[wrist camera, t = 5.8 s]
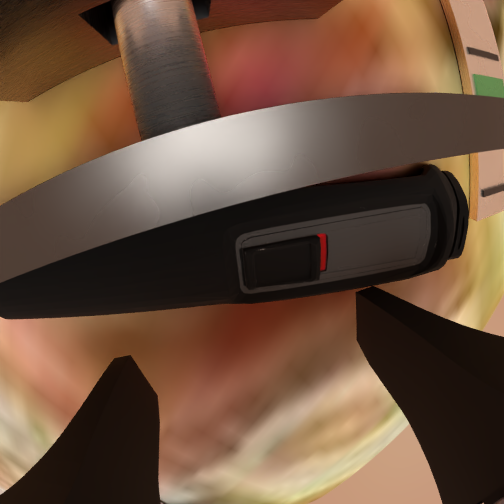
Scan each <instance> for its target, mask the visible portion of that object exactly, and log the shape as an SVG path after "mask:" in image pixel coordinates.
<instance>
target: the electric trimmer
mask: <svg viewBox="0 0 504 504" xmlns="http://www.w3.org/2000/svg"><path fill="white" fill-rule="evenodd" d="M468 219H469V209H468V204H467V199H466V196H465V194H464V192H463V190H462V188H461V186H460V184H459V182H458V180H457V179H456V178H455V177H454V175H453V174H452V173H450V172H448V171H440V170H439V169H438V168H437V167H436V166H435V165H432V164H429V165H425V166H423V167H422V174H421V175H418V176H412V177H403V178H394V179H385V180H377V181H365V182H354V183H344V184H334V185H322V186H310V187H301V188H297V189H293V190H289V191H285V192H281V193H277V194H273V195H269V196H265V197H261V198H258V199H254V200H250V201H246V202H242V203H239V204H235V205H231V206H228V207H224V208H221V209H217V210H213V211H210V212H206V213H203V214H200V215H196V216H193V217H189V218H186V219H182V220H179V221H176V222H172V223H169V224H166V225H163V226H159V227H156V228H153V229H150V230H147V231H143V232H140V233H137V234H134V235H131V236H128V237H125V238H122V239H119V240H116V241H113V242H110V243H107V244H104V245H101V246H98V247H95V248H92V249H89V250H86V251H83V252H80V253H78V254H75V255H72V256H69V257H66V258H64V259H61V260H58V261H55V262H53V263H50V264H47V265H45V266H42V267H39V268H37V269H34V270H31V271H29V272H26V273H24V274H21V275H19V276H16V277H13V278H11V279H8V280H6V281H4V282H1V283H0V317H2V318H4V319H38V318H61V317H79V316H95V315H109V314H122V313H135V312H146V311H157V310H167V309H177V308H187V307H196V306H205V305H216V304H252V303H262V302H271V301H280V300H288V299H295V298H302V297H308V296H315V295H321V294H327V293H333V292H339V291H345V290H351V289H357V288H362V287H368V286H373V285H379V284H384V283H389V282H395V281H400V280H405V279H409V278H413V277H416V276H419V275H422V274H426V273H429V272H432V271H436V270H439V269H440V268H442V267H443V266H444V265H445V263H446V262H447V260H449V259H455V258H459V257H460V256H461V254H462V252H463V249H464V245H465V240H466V235H467V229H468Z"/></svg>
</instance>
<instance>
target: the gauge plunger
mask: <svg viewBox="0 0 504 504" xmlns="http://www.w3.org/2000/svg"><path fill="white" fill-rule="evenodd" d="M111 4H112V11H113V17H114V22H115V28H116V33H117V38H118V43H119V48H120V53H121V58H122V63H123V67H124V72H125V76H126V81H127V85H128V89H129V93H130V98H131V102H132V106H133V110H134V113H135V117H136V121H137V125H138V129H139V132H140V136H141V140H142V141H141V142H138V143H136V144H133V145H130V146H127V147H124V148H122V149H119V150H116V151H114V152H111V153H109V154H106V155H104V156H101V157H99V158H96V159H94V160H91V161H89V162H87V163H84V164H82V165H80V166H77V167H75V168H73V169H71V170H69V171H66V172H64V173H62V174H60V175H58V176H56V177H54V178H52V179H49V180H47V181H45V182H43V183H41V184H39V185H37V186H36V187H34V188H32V189H30V190H28V191H26V192H24V193H22V194H20V195H19V196H17V197H15V198H13V199H11V200H10V201H8V202H6V203H4V204H3V205H1V206H0V283H1V282H4V281H6V280H8V279H11V278H13V277H16V276H19V275H21V274H24V273H26V272H29V271H31V270H34V269H37V268H39V267H42V266H45V265H47V264H50V263H53V262H55V261H58V260H61V259H64V258H66V257H69V256H72V255H75V254H78V253H80V252H83V251H86V250H89V249H92V248H95V247H98V246H101V245H104V244H107V243H110V242H113V241H116V240H119V239H122V238H125V237H128V236H131V235H134V234H137V233H140V232H143V231H147V230H150V229H153V228H156V227H159V226H163V225H166V224H169V223H172V222H176V221H179V220H182V219H186V218H189V217H193V216H196V215H200V214H203V213H206V212H210V211H213V210H217V209H221V208H224V207H228V206H231V205H235V204H239V203H242V202H246V201H250V200H254V199H258V198H261V197H265V196H269V195H273V194H277V193H281V192H285V191H289V190H293V189H297V188H301V187H305V186H309V185H314V184H318V183H322V182H327V181H331V180H335V179H340V178H344V177H349V176H353V175H358V174H363V173H367V172H372V171H377V170H382V169H387V168H392V167H397V166H402V165H407V164H413V163H418V162H423V161H429V160H435V159H441V158H446V157H452V156H459V155H465V154H471V153H478V152H485V151H492V150H499V149H504V98H500V97H492V96H482V95H469V94H452V93H389V94H371V95H357V96H346V97H337V98H328V99H320V100H312V101H305V102H298V103H292V104H286V105H280V106H275V107H269V108H264V109H259V110H254V111H249V112H245V113H240V114H236V115H231V116H227V117H223V118H221V116H220V112H219V108H218V104H217V100H216V96H215V92H214V88H213V84H212V80H211V76H210V72H209V68H208V64H207V60H206V56H205V52H204V48H203V44H202V40H201V36H200V32H199V28H198V24H197V20H196V16H195V12H194V8H193V4H192V0H111Z"/></svg>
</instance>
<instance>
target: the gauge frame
mask: <svg viewBox="0 0 504 504" xmlns="http://www.w3.org/2000/svg"><path fill="white" fill-rule="evenodd" d="M341 1H342V0H192V4H193V8H194V12H195V16H196V20H197V24H198V28H199V32H204V31H208V30H213V29H218V28H224V27H229V26H235V25H242V24H249V23H256V22H265V21H275V20H288V19H307V18H319V17H321V16H322V15H323V14H324V13H326V12H327V11H328V10H330V9H331V8H332V7H334V6H335V5H337V4H338V3H339V2H341ZM440 1H441V4H442V7H443V10H444V13H445V16H446V19H447V22H448V25H449V29H450V32H451V36H452V40H453V43H454V47H455V51H456V56H457V60H458V65H459V70H460V75H461V80H462V86H463V92H464V94H469V95H482V96H492V97H500V98H504V76H503V71H502V66H501V61H500V56H499V52H498V48H497V44H496V40H495V36H494V33H493V29H492V26H491V23H490V19H489V16H488V13H487V10H486V7H485V4H484V2H483V0H440ZM119 56H121V53H120V48H119V43H118V38H117V33H116V28H115V22H114V17H113V11H112V4H111V0H0V101H20V102H28V101H29V100H31V99H33V98H34V97H36V96H38V95H39V94H41V93H43V92H45V91H46V90H48V89H50V88H52V87H54V86H56V85H58V84H59V83H61V82H63V81H65V80H67V79H69V78H71V77H73V76H75V75H77V74H80V73H82V72H84V71H86V70H88V69H90V68H93V67H95V66H97V65H100V64H102V63H104V62H107V61H109V60H112V59H114V58H117V57H119ZM501 211H504V149H499V150H492V151H485V152H478V153H471V154H470V213H469V218H471V219H473V220H475V221H479V220H481V219H484V218H486V217H489V216H491V215H494V214H496V213H499V212H501Z"/></svg>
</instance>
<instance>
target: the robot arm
mask: <svg viewBox="0 0 504 504" xmlns="http://www.w3.org/2000/svg"><path fill="white" fill-rule="evenodd" d="M356 320H357V341H358V343H359V345H360V347H361V349H362V351H363V353H364V355H365V357H366V359H367V361H368V362H369V364H370V366H371V367H372V369H373V370H374V372H375V373H376V374H377V376H378V377H379V379H380V380H381V382H382V383H383V384H384V386H385V387H386V389H387V390H388V392H389V393H390V394H391V396H392V397H393V399H394V400H395V402H396V403H397V404H398V406H399V407H400V409H401V410H402V412H403V413H404V415H405V417H406V418H407V420H408V421H409V423H410V425H411V427H412V429H413V431H414V433H415V435H416V437H417V439H418V441H419V443H420V445H421V448H422V450H423V452H424V454H425V457H426V459H427V461H428V463H429V466H430V469H431V471H432V473H433V476H434V479H435V482H436V484H437V487H438V490H439V493H440V497H441V500H442V503H443V504H482V503H483V502H484V504H504V337H502V336H498V335H494V334H490V333H486V332H483V331H480V330H476V329H473V328H470V327H467V326H464V325H461V324H458V323H456V322H453V321H451V320H448V319H445V318H443V317H440V316H438V315H436V314H433V313H431V312H429V311H426V310H424V309H422V308H420V307H417V306H415V305H413V304H411V303H409V302H407V301H405V300H402V299H400V298H398V297H396V296H394V295H392V294H390V293H388V292H385V291H383V290H381V289H379V288H376V287H374V286H371V287H369V288H366V289H363V290H360V291H358V292H356ZM159 432H160V419H159V407H158V396H157V394H156V393H155V391H154V390H153V388H152V387H151V385H150V384H149V383H148V381H147V380H146V378H145V377H144V375H143V374H142V372H141V371H140V369H139V368H138V366H137V364H136V363H135V361H134V360H133V358H132V357H131V355H129V356H124V357H119V358H114V360H113V361H112V362H111V363H110V365H109V366H108V367H107V369H106V370H105V372H104V373H103V375H102V376H101V378H100V379H99V381H98V382H97V384H96V385H95V387H94V388H93V390H92V391H91V393H90V394H89V396H88V397H87V399H86V400H85V402H84V403H83V405H82V406H81V408H80V409H79V410H78V412H77V413H76V415H75V416H74V417H73V419H72V420H71V422H70V423H69V424H68V426H67V427H66V429H65V430H64V432H63V433H62V434H61V435H60V437H59V438H58V439H57V441H56V442H55V443H54V444H53V445H52V447H51V448H50V449H49V450H48V451H47V453H46V454H45V455H44V456H43V457H42V458H41V459H40V460H39V461H38V462H37V463H36V464H35V465H34V466H33V467H32V468H31V469H30V470H29V471H28V472H27V473H26V474H25V475H24V476H23V477H22V478H21V479H20V480H19V481H18V482H16V483H15V484H14V485H13V486H12V487H10V488H9V489H8V490H6V491H5V492H4V493H3V494H1V495H0V504H163V503H161V502H160V495H159V482H158V467H159Z"/></svg>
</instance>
